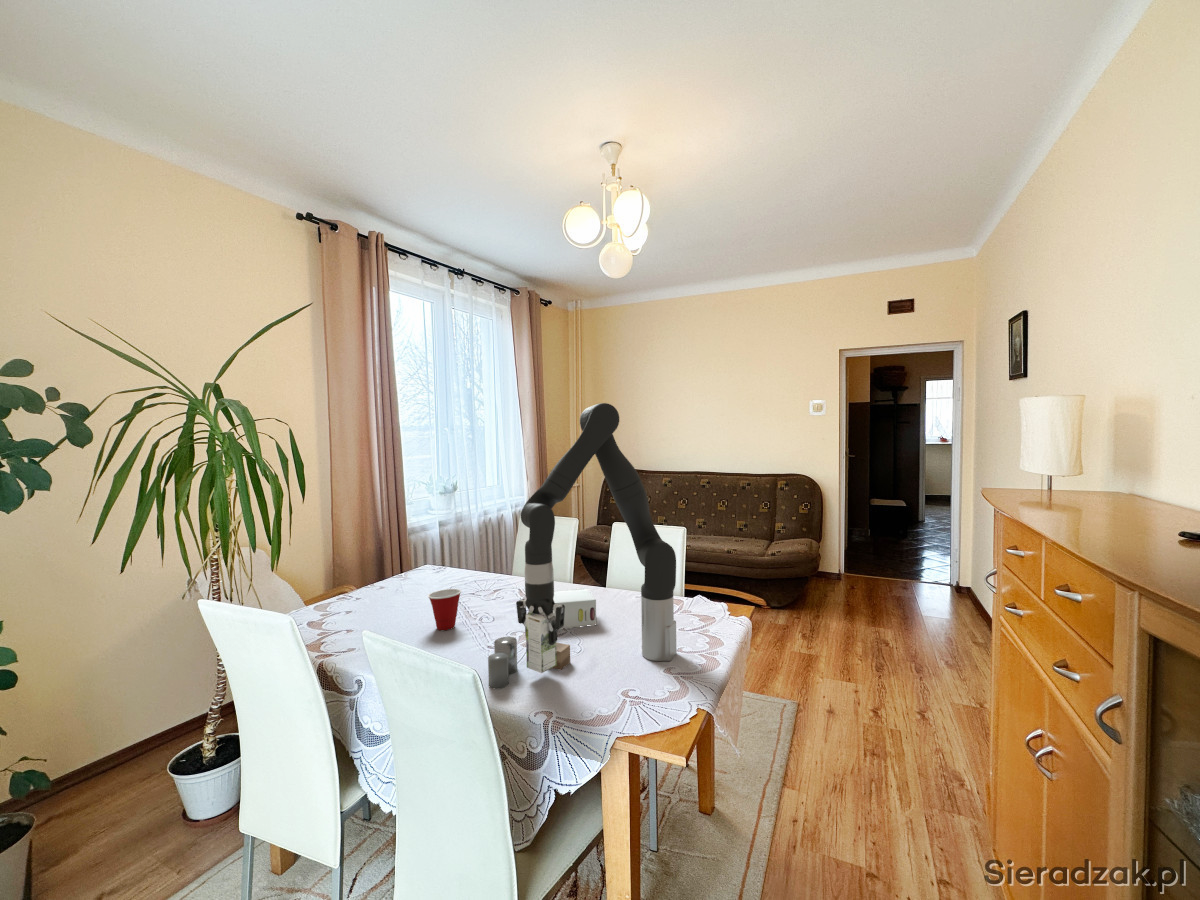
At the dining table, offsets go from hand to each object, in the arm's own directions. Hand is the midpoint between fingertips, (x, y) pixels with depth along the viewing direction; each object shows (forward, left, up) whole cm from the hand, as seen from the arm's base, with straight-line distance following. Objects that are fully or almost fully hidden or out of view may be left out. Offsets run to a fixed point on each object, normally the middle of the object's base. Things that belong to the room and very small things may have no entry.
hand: (541, 641), depth 132 cm
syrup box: (0, 0, -7) cm, 7 cm away
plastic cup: (+49, -16, -10) cm, 53 cm away
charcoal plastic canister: (+8, +8, -10) cm, 15 cm away
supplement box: (+14, -38, -10) cm, 42 cm away
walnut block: (0, -8, -10) cm, 13 cm away
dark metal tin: (+11, +1, -10) cm, 15 cm away
